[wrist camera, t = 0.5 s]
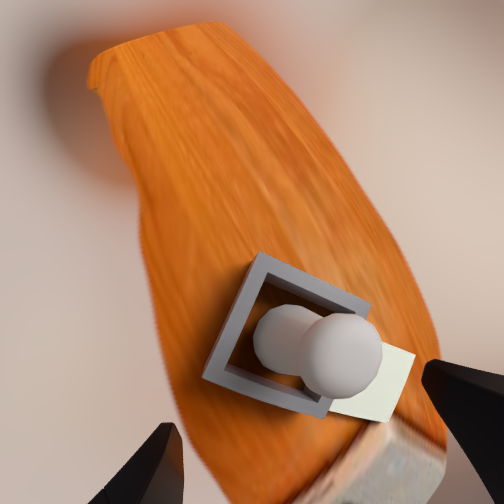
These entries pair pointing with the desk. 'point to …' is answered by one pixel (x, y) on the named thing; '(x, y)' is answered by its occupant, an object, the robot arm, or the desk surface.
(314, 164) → the desk surface
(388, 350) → the pad
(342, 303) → the frame
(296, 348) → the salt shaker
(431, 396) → the robot arm
